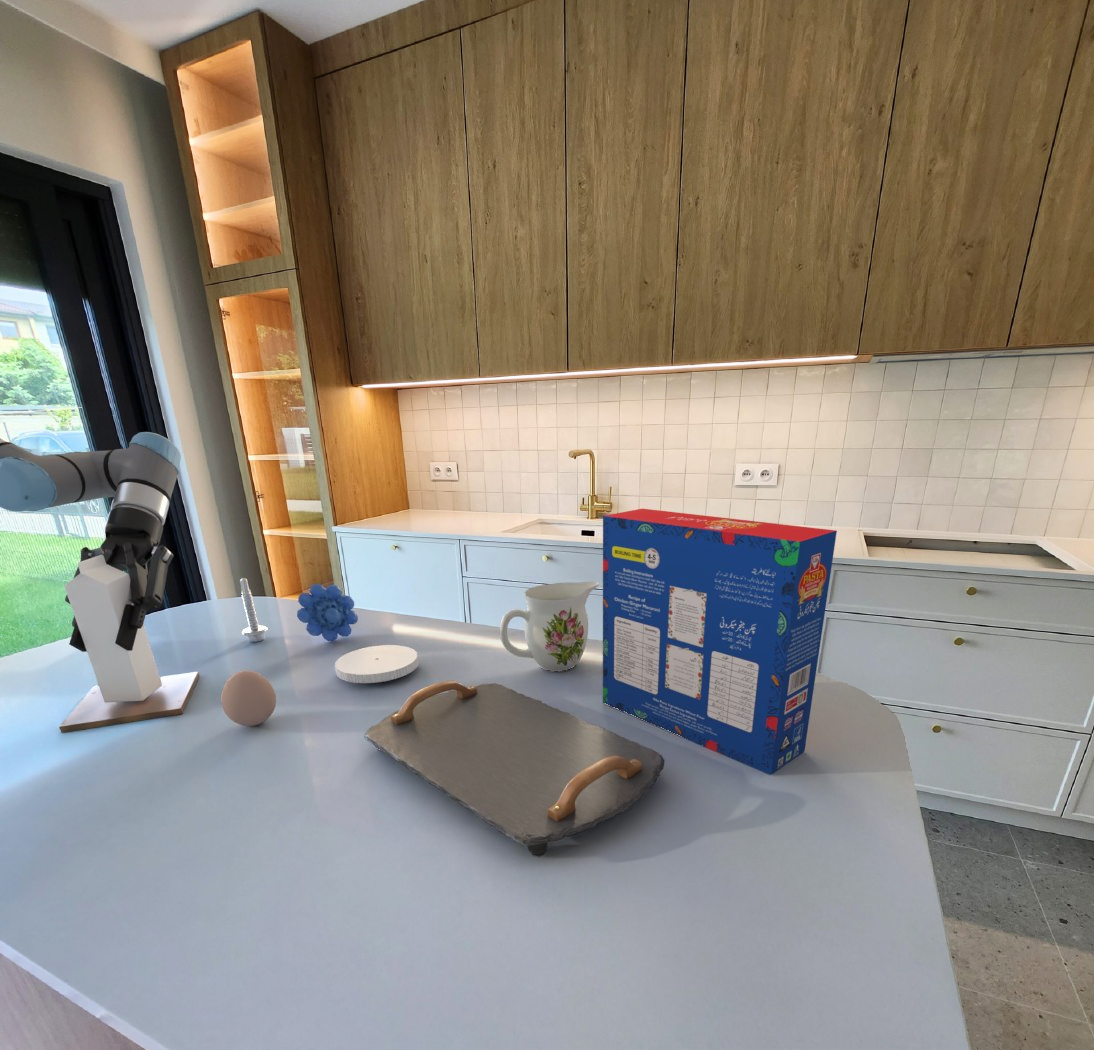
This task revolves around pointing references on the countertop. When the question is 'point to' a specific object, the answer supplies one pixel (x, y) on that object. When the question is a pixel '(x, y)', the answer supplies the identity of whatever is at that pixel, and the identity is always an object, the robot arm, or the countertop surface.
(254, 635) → the screw
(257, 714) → the egg
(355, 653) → the plastic lid
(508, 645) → the pitcher
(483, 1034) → the countertop surface
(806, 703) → the pasta box
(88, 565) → the milk
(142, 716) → the board
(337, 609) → the blue flower
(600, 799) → the serving tray
